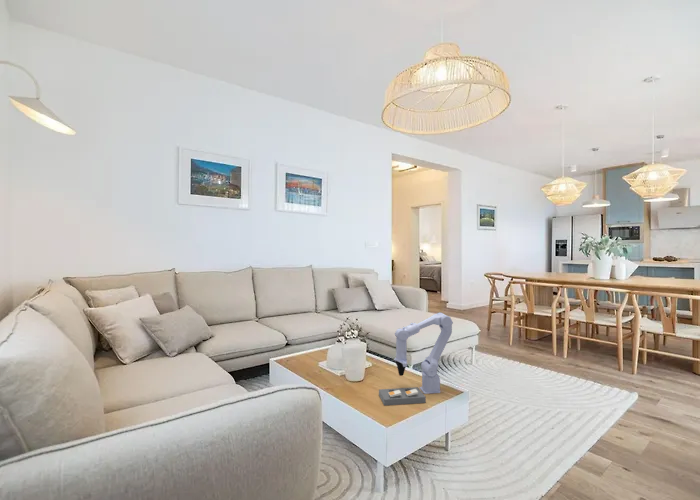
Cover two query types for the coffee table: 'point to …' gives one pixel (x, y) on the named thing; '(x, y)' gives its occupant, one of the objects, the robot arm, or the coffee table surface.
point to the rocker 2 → (411, 392)
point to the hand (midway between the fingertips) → (401, 375)
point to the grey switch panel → (401, 397)
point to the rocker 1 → (394, 393)
